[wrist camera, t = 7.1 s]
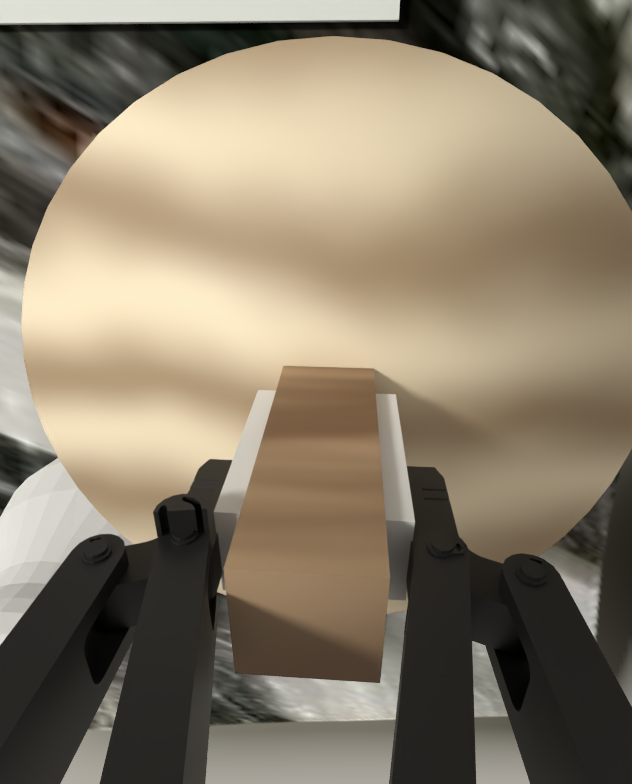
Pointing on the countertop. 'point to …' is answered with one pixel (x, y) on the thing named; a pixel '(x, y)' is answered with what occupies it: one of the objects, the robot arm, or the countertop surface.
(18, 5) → the mat
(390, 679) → the countertop surface
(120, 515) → the lid
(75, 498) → the soap bottle
